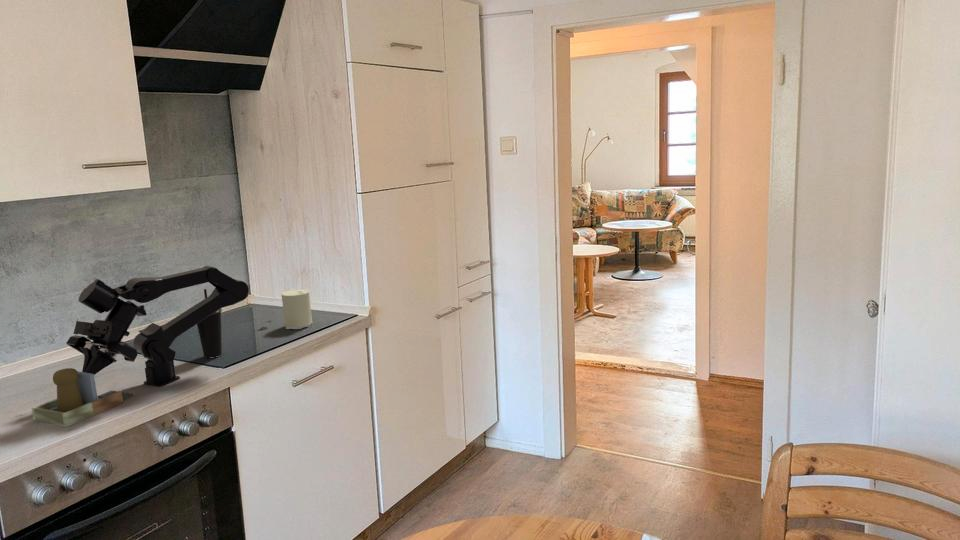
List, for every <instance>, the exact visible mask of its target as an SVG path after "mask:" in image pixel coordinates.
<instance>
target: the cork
mask: <svg viewBox="0 0 960 540" xmlns="http://www.w3.org/2000/svg"><path fill="white" fill-rule="evenodd" d="M77 371H78V370H77V369H76V368H71V367H69V368H62V369H59V370H56V371H55V372H54V373H53V375H52V381H53V384H54V385H56V399H57V411H58V412H63V413H65V412H68V411H70V410H73V409H75V408H78V407H80V406H83V405H84V402H83V399H82V396H81V393H80V389H79V386H78V383H77V381H78V378H79V375H78V372H79V371H78V372H77Z"/></svg>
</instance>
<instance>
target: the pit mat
mask: <svg viewBox="0 0 960 540" xmlns="http://www.w3.org/2000/svg"><path fill="white" fill-rule="evenodd" d="M115 392H117V390H109V391H107V392H104V393H102V394H98V395H97V397H99V398H98V399H100V398H103V397H105V396H108V395H110V394H113V393H115ZM133 395H134V396H135V394H134V393H129V392H124V391H122V398H123V401H125V400H126V398H127V399H129V398H131V396H132V397H134V396H133Z"/></svg>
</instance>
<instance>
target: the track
mask: <svg viewBox="0 0 960 540" xmlns="http://www.w3.org/2000/svg"><path fill="white" fill-rule="evenodd" d="M116 391H117V390H116ZM122 392H123V391H121V390H118V391H117V392H115V393H113V394H110V395H108V396H105V397H103V398H98V400H95V401H93V402H90V403H88V404H85V405H83V406H80V407H78V408H75V409H73V410H70V411H68V412H65V413H63V412H58V411H53V410H50V409H52V408H55V407H57V398H54V399H52V400H49V401H46V402H44V403H40V404H38V405H36V406H33V407H31V412H32V418H33V421H36V422H41V423H46V424H51V425H57V426H61V427H69V426H72V425H75V424H76V422H77V423H79V422H82V421H83V419H84V420H86V419H88V418H87V417H89V418H91V417H93V416H96V415H98V414H100V413H103V412H105V411H107V410H109V408H110V409H112V408H114V406H115V407H117V406H119V405H121V403H122V404H123V403H124V400H123V398H122ZM104 410H105V411H104ZM102 411H103V412H102ZM97 413H98V414H97ZM95 414H96V415H95ZM90 416H91V417H90ZM85 418H86V419H85Z"/></svg>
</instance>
